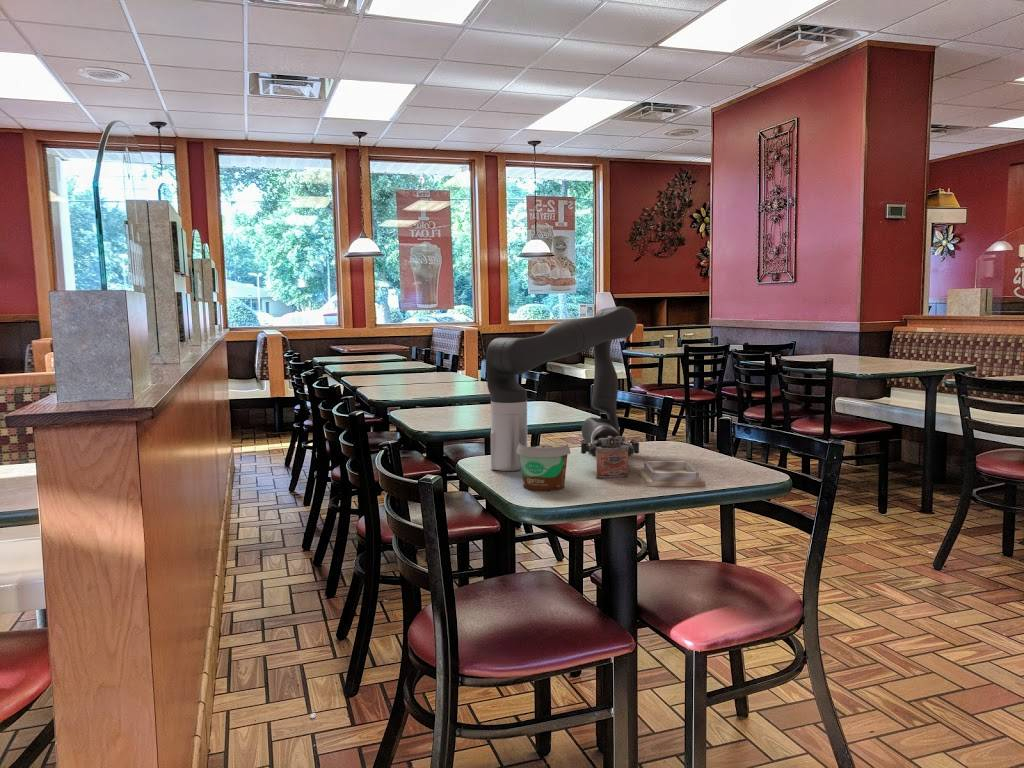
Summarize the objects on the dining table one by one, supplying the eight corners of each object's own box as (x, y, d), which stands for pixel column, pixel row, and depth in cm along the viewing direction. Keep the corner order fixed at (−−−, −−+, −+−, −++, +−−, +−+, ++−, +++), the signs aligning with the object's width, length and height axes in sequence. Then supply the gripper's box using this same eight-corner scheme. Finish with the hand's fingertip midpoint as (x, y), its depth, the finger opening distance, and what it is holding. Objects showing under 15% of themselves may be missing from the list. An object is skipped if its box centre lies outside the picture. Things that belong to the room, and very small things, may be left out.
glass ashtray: (647, 486, 171) (647, 473, 171) (638, 473, 185) (638, 461, 185) (704, 486, 171) (705, 473, 170) (692, 473, 185) (692, 460, 184)
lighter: (598, 480, 178) (598, 438, 177) (593, 477, 181) (593, 436, 180) (630, 478, 180) (630, 436, 179) (625, 475, 183) (625, 434, 182)
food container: (511, 491, 167) (510, 447, 167) (517, 485, 173) (517, 442, 173) (566, 494, 165) (565, 448, 164) (570, 487, 170) (570, 443, 170)
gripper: (578, 426, 197) (582, 436, 181) (633, 426, 196) (642, 436, 180) (578, 454, 197) (582, 467, 181) (633, 454, 197) (641, 467, 181)
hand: (612, 451), depth 181 cm, fingers open, 8 cm apart
